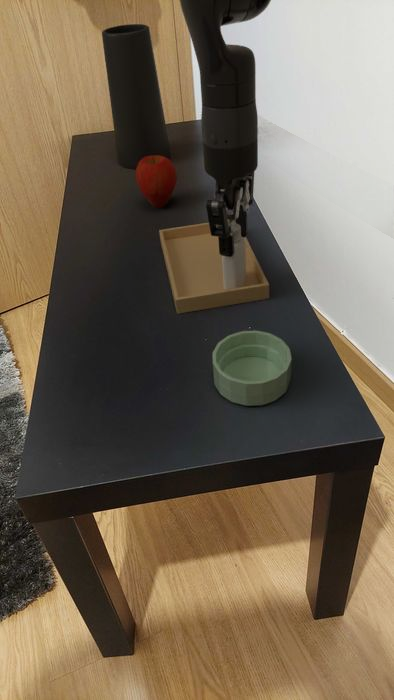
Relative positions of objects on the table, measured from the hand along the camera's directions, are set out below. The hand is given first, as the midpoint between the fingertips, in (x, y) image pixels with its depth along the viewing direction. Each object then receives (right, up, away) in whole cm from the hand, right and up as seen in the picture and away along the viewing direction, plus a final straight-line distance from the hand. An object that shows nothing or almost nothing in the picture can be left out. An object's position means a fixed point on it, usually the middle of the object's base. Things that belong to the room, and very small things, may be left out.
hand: (233, 244), depth 80 cm
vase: (-19, +33, +52) cm, 64 cm away
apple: (-14, +15, +31) cm, 37 cm away
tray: (-4, -2, +11) cm, 11 cm away
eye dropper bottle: (+1, -6, +5) cm, 8 cm away
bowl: (+2, -21, -11) cm, 23 cm away
